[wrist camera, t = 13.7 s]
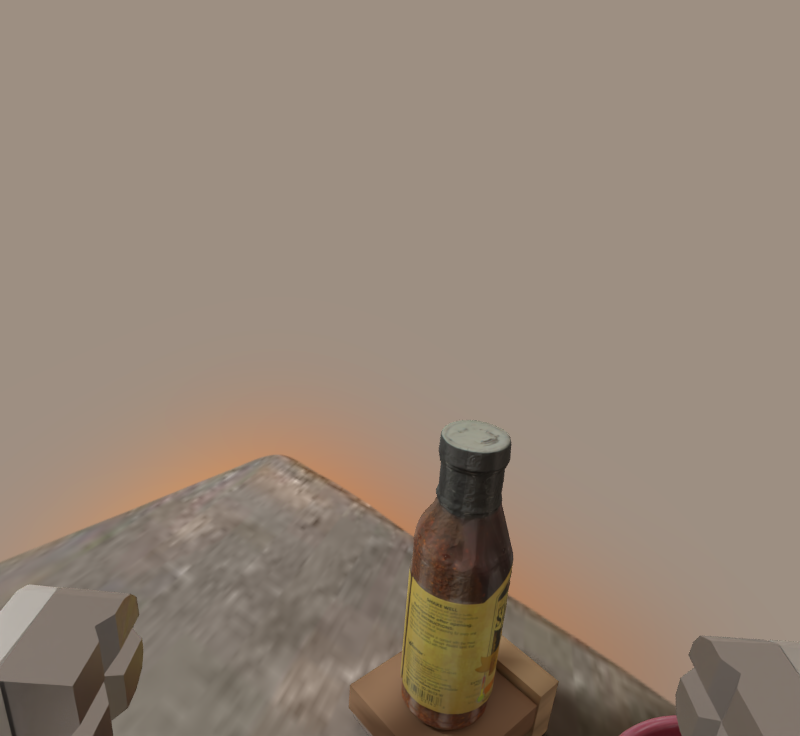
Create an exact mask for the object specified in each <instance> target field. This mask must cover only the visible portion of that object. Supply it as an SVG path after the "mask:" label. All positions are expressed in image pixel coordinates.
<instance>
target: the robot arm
mask: <svg viewBox="0 0 800 736" xmlns="http://www.w3.org/2000/svg"><path fill="white" fill-rule="evenodd" d="M138 616H139V609H138V603H137V597H136V596H134V595H132V594H126V593H116V592H106V591H96V590H86V589H76V588H66V587H63V588H58V587H49V586H39V585H29V584H28V585H27V586H25V587H23V588H21V589H19V590H18V591H17V592H16V593H15V594H14V595H13V596H12V598H11V599H10V600H9V601H8V603H7V604H6V605H5V606H4V607H3V609H2V610H1V611H0V736H113V730H112V723H111V721H112V720H113V719H114V718H116V717H117V716H118V715H119V714H121V713H122V712H123V711H125V710H126V709H127V708H128V706H129V704H130V702H131V700H132V698H133V695H134V693H135V691H136V688H137V684H138V681H139V677H140V673H141V669H142V661H143V643H142V637H141V636H140V635H139V634H138V633H137V632H136V631H135V630H134V629H133V626H134V624H135V622H136V620H137V618H138ZM689 657H690V659H691V661H692V663H693V665H694V668H693V669H692V670H690V671H689V672H688V673H687V674H685V675H683V676H682V677H681V678H680V682H679V685H678V689H677V692H676V716H677V721H678V725H679V729H680V733H681V735H682V736H800V642H794V641H778V640H769V641H767V640H760V639H745V638H730V637H712V636H699V637H698V638H697V639H696V640H695V641H694V642H693V644H692V647H691V650H690V652H689Z"/></svg>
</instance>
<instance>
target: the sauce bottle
mask: <svg viewBox="0 0 800 736" xmlns="http://www.w3.org/2000/svg"><path fill="white" fill-rule="evenodd" d="M510 453H511V439H510V436H509V435H508V434H507V432H505V431H504V430H503V429H501V428H499V427H497V426H494V425H492V424H489V423H485V422H481V421H476V420H462V421H456V422H453V423H450V424H449V425H447V426H445V427H444V428H443V430H442V432H441V437H440V445H439V455H440V461H441V468H440V478H439V484H438V487H437V488H436V494H437V497H436V499H435V501H434V502H433V504H431V505H430V507H428V508H427V509H426V510H425V512H424V513H423V514H422V516H421V517H420V519H419V522H418V524H417V527H416V531H415V535H414V547H413V557H412V560H411V563H410V570H409V581H408V592H407V603H406V615H405V626H404V638H403V650H402V661H401V672H400V673H401V678H402V683H401V686H402V697H403V699H404V702H405V704H406V706H407V707H408V709H409V710H410V711H411V712H412V713H413V714H414V715H415V716H416V717H417V718H418V719H419V720H420V721H421V722H423V723H425V724H427V725H429V726H432V727H434V728H436V729H444V730H454V729H461V728H464V727H467V726H470V725H472V724H473V723H475V722H476V721H477V720H478V719H479V718H480V717H481V716H482V714H483V713H484V711H485V708H486V705H487V702H488V698H489V696H490V694H491V691H492V688H493V682H494V676H495V670H496V664H497V658H498V652H499V645H500V640H501V636H502V627H503V621H504V615H505V610H506V605H507V596H508V589H509V585H510V577H511V573H512V564H513V552H512V547H511V543H510V538H509V533H508V529H507V525H506V521H505V516H504V511H503V507H502V494H501V492H502V487H503V482H504V472H505V468H506V466H507V465H508V463H509V461H510Z"/></svg>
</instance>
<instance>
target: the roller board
mask: <svg viewBox="0 0 800 736" xmlns="http://www.w3.org/2000/svg"><path fill="white" fill-rule="evenodd" d="M401 661H402V651H401V652H400V653H398V654H397V655H395V656H394V657H392V658H390V659H389V660H387V661H386V662H384V663H383V664H381V665H380V666H378V667H377V668H375V669H374V670H372V671H371V672H369V673H368V674H366V675H365V676H363V677H362V678H360V679H359V680H357V681H356V682H354V683H352V684H351V685H350V696H349V709H350V710H351V711H352V712H353V713H354V718H355V719H356V720H357V721H358V722H359V724H360V725H361V726H362V727H363V728H364V729H365V731H366V732H367V733H368V734H369V735H370V736H542V735H543V734H544V733H545V732H546V731H547V727H548V723H549V719H550V715H551V711H552V706H553V702H554V698H555V694H556V690H557V686H558V682H559V681H557V680H556V679H555V678H554V677H552V676H551V675H550V674H549V673H548V672H546V671H545V670H544V669H543V668H541V667H540V666H539V665H538V664H537V663H535V662H534V661H533V660H532V659H530V658H529V657H528V656H527V655H526V654H524V653H523V652H522V651H521V650H519V649H518V648H517V647H516V646H515V645H513V644H512V643H511V642H510V641H508V640H507V639H506V638H505V637H504V636H501V640H500V645H499V652H498V658H497V664H496V670H495V676H494V682H493V688H492V691H491V694H490V696H489V698H488V702H487V705H486V708H485V711H484V713H483V714H482V716H481V717H480V718H479V719H478V720H477V721H476V722H475V723H473V724H472V725H470V726H467V727H464V728H461V729H454V730H444V729H436V728H434V727H432V726H429V725H427V724H425V723H423V722H421V721H420V720H419V719H418V718H417V717H416V716H415V715H414V714H413V713H412V712H411V711H410V710H409V709H408V707H407V706H406V704H405V702H404V699H403V697H402V686H401V683H402V678H401V673H400V672H401Z"/></svg>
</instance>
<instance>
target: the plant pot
mask: <svg viewBox="0 0 800 736" xmlns="http://www.w3.org/2000/svg"><path fill="white" fill-rule="evenodd" d="M619 736H682V735H681V733H680V729H679V725H678V721H677V716H676V715H673V716H663V717H657V718H653V719H649V720H646V721H643V722H640V723H638V724H636V725H634V726H632V727H630V728H629V729H627V730H626V731H624V732H623V733H622V734H620V735H619Z"/></svg>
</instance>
